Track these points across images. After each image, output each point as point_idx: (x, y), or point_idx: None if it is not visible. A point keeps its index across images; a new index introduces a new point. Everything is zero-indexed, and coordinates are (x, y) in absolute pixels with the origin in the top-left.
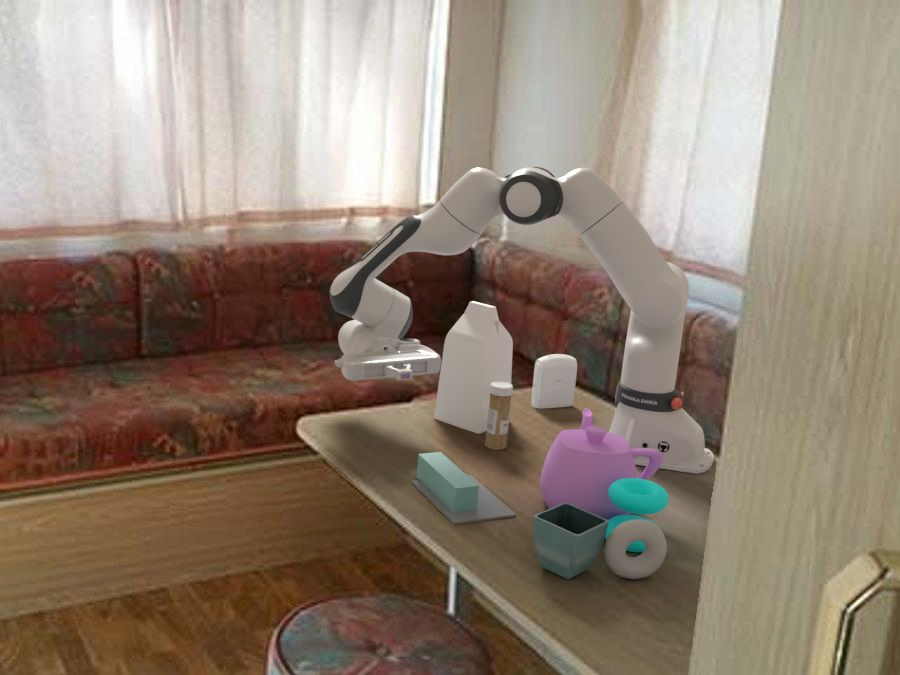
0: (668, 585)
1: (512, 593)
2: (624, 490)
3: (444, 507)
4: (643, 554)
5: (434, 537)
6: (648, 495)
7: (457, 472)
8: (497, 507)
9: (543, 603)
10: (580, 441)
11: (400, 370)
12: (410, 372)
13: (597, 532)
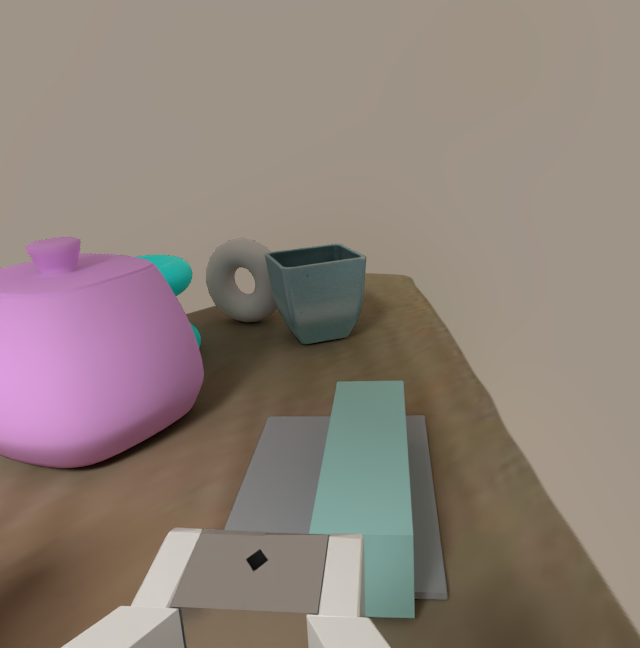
0: (220, 313)
1: (426, 320)
2: (173, 260)
3: (415, 456)
4: (235, 287)
5: (488, 399)
6: (155, 255)
7: (348, 425)
8: (285, 438)
9: (398, 310)
10: (89, 271)
11: (309, 564)
12: (206, 530)
13: (293, 258)
